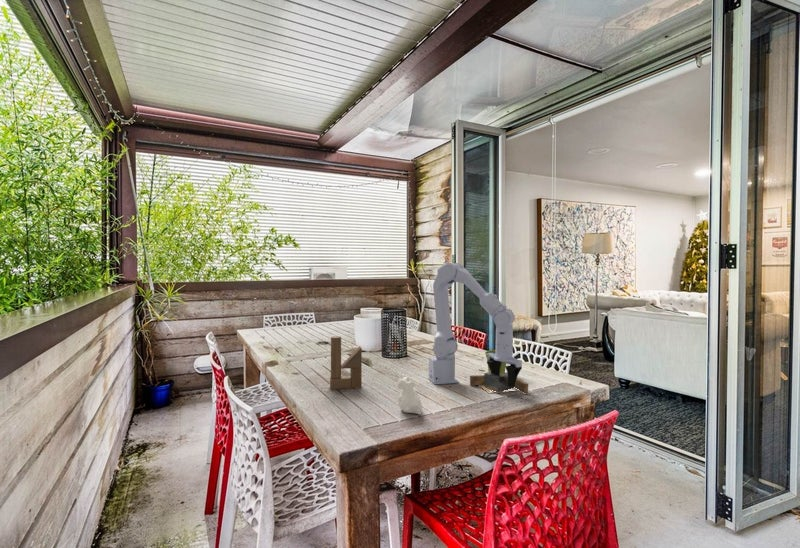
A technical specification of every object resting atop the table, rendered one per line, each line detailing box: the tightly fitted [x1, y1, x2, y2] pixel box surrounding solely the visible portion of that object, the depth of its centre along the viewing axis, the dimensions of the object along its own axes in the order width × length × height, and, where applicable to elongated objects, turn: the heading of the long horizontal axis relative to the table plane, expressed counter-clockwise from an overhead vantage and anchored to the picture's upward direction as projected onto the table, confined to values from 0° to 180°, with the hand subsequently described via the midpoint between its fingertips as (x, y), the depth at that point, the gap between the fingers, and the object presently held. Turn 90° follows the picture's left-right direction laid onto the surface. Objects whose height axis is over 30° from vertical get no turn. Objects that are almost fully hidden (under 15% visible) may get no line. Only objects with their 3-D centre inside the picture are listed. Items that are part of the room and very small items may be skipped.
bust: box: [396, 376, 423, 415], centre depth 121 cm, size 12×8×11 cm
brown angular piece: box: [329, 335, 363, 390], centre depth 144 cm, size 4×11×18 cm, turn 103°
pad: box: [478, 385, 504, 393], centre depth 143 cm, size 10×8×1 cm
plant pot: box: [484, 349, 507, 374], centre depth 162 cm, size 9×9×9 cm
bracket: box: [483, 371, 515, 392], centre depth 143 cm, size 8×6×5 cm
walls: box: [469, 374, 529, 394], centre depth 143 cm, size 15×14×3 cm
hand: (503, 383), depth 142 cm, fingers open, 7 cm apart
